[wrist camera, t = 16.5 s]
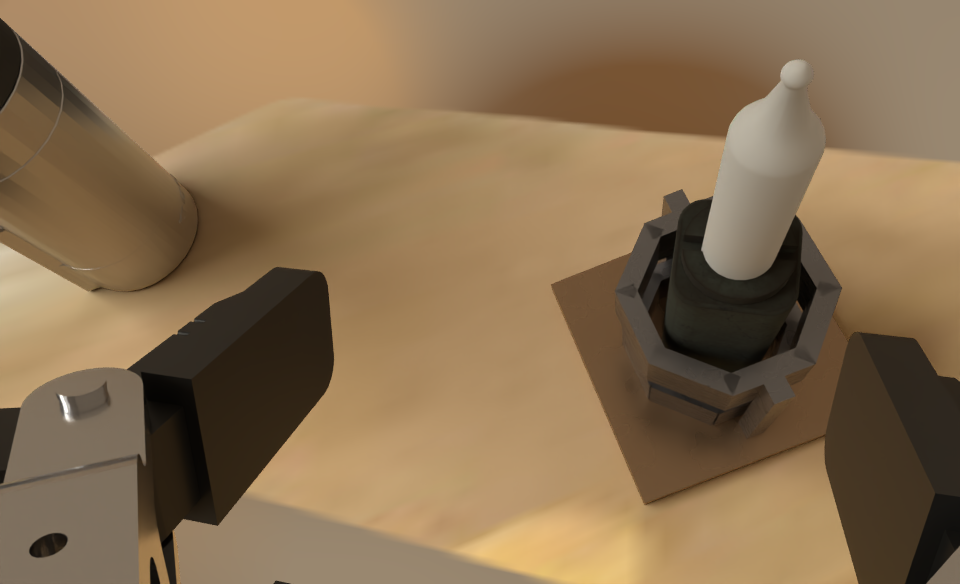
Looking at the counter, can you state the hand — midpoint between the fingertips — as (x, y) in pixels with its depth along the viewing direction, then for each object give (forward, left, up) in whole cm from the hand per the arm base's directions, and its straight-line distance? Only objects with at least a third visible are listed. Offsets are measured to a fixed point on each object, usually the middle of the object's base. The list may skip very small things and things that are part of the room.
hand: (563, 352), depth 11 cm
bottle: (+9, +7, -32) cm, 34 cm away
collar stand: (+9, +7, -32) cm, 34 cm away
